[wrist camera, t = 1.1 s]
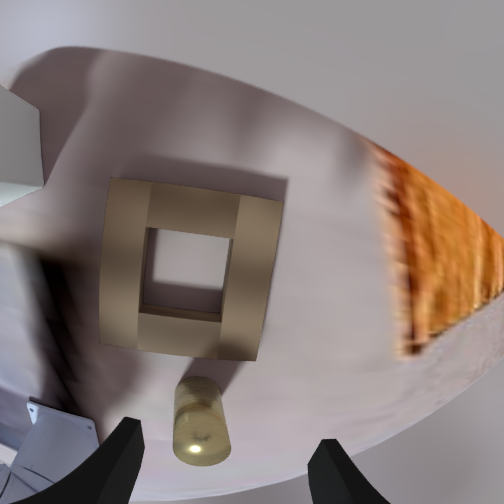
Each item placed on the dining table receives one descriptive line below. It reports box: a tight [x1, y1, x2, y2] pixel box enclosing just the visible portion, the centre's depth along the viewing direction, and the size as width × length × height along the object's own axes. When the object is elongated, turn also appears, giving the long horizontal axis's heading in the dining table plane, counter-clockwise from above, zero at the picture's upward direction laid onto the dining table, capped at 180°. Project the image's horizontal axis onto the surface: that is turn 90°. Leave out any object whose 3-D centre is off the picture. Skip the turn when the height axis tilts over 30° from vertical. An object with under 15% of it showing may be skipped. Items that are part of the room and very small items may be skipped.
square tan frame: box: [99, 177, 284, 361], centre depth 20 cm, size 12×12×2 cm
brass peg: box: [173, 377, 231, 466], centre depth 19 cm, size 4×4×7 cm
